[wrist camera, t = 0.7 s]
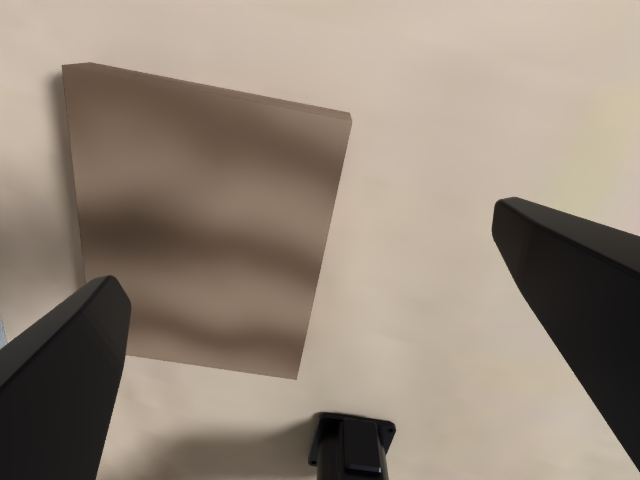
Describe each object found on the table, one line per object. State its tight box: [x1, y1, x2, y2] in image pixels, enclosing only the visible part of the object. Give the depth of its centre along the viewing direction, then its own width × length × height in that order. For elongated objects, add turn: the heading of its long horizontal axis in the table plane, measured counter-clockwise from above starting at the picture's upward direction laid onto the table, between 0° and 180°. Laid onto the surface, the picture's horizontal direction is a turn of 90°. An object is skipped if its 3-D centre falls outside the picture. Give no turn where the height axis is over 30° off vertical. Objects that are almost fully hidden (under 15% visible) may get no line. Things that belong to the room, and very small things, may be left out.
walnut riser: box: [62, 62, 352, 380], centre depth 24 cm, size 18×14×2 cm
